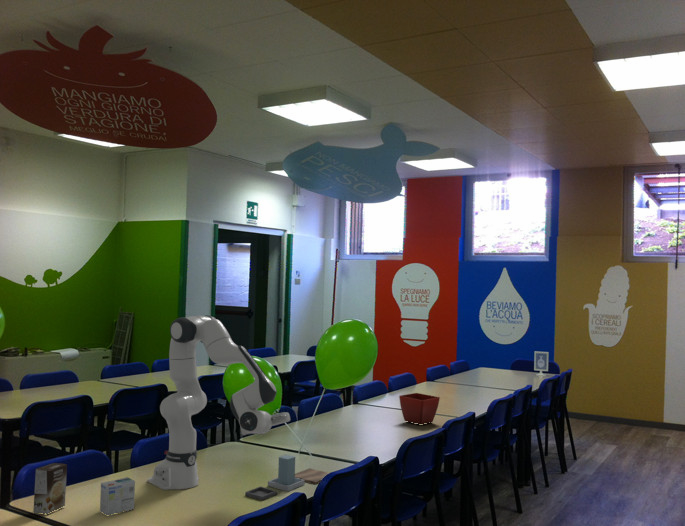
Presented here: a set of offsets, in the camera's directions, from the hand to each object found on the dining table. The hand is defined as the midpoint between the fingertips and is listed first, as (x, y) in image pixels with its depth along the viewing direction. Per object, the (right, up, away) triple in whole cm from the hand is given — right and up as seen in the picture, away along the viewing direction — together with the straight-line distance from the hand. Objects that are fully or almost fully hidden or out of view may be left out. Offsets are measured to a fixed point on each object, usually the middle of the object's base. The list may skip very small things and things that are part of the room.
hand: (270, 423), depth 259 cm
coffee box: (-77, -24, -34) cm, 88 cm away
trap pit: (-3, -27, -10) cm, 29 cm away
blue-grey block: (+6, -27, +3) cm, 28 cm away
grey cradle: (+6, -27, +3) cm, 28 cm away
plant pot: (+79, -35, +132) cm, 158 cm away
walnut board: (+17, -28, +15) cm, 36 cm away
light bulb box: (-53, -24, -32) cm, 67 cm away
